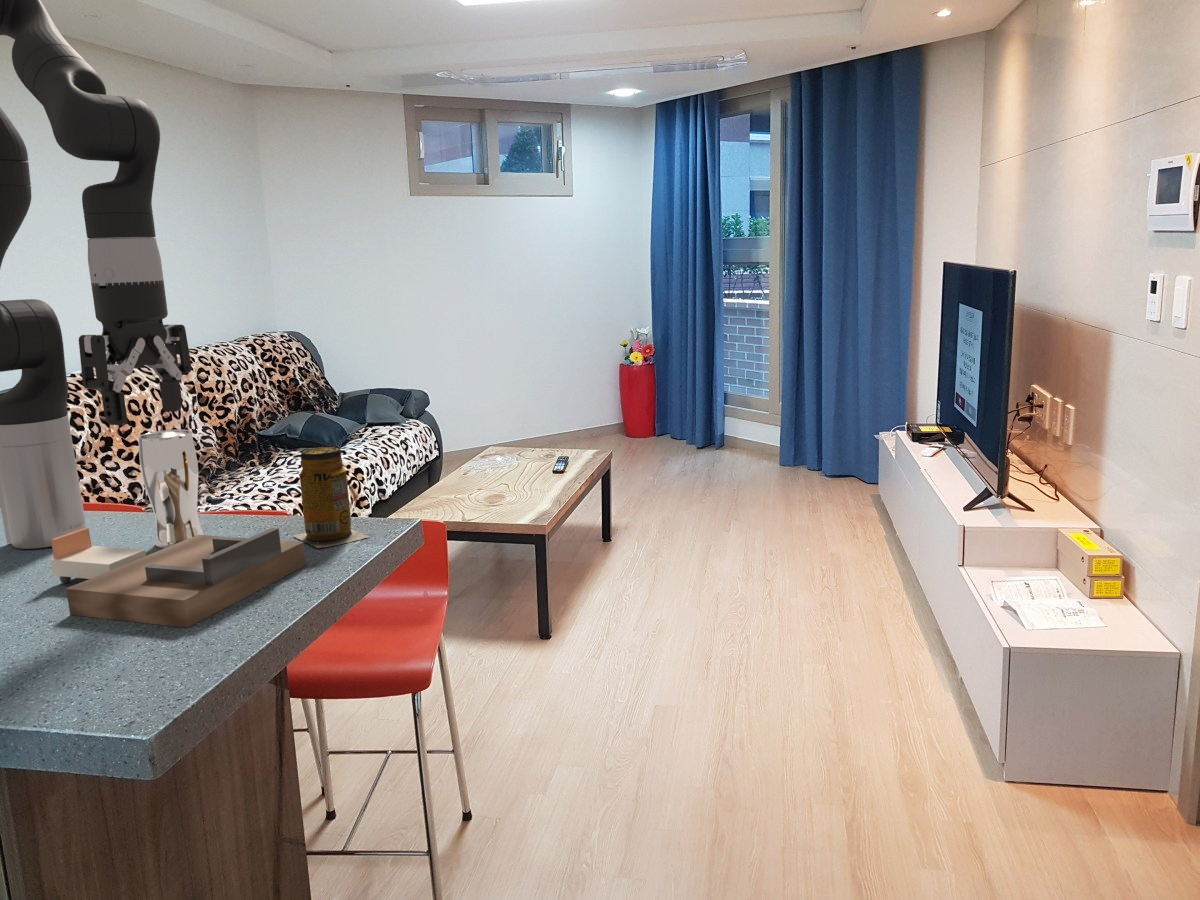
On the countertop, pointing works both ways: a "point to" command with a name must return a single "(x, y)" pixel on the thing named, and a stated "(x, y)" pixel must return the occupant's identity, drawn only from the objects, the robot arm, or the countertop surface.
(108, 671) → the countertop surface
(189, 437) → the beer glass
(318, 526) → the condiment
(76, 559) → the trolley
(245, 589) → the dock
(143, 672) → the countertop surface
